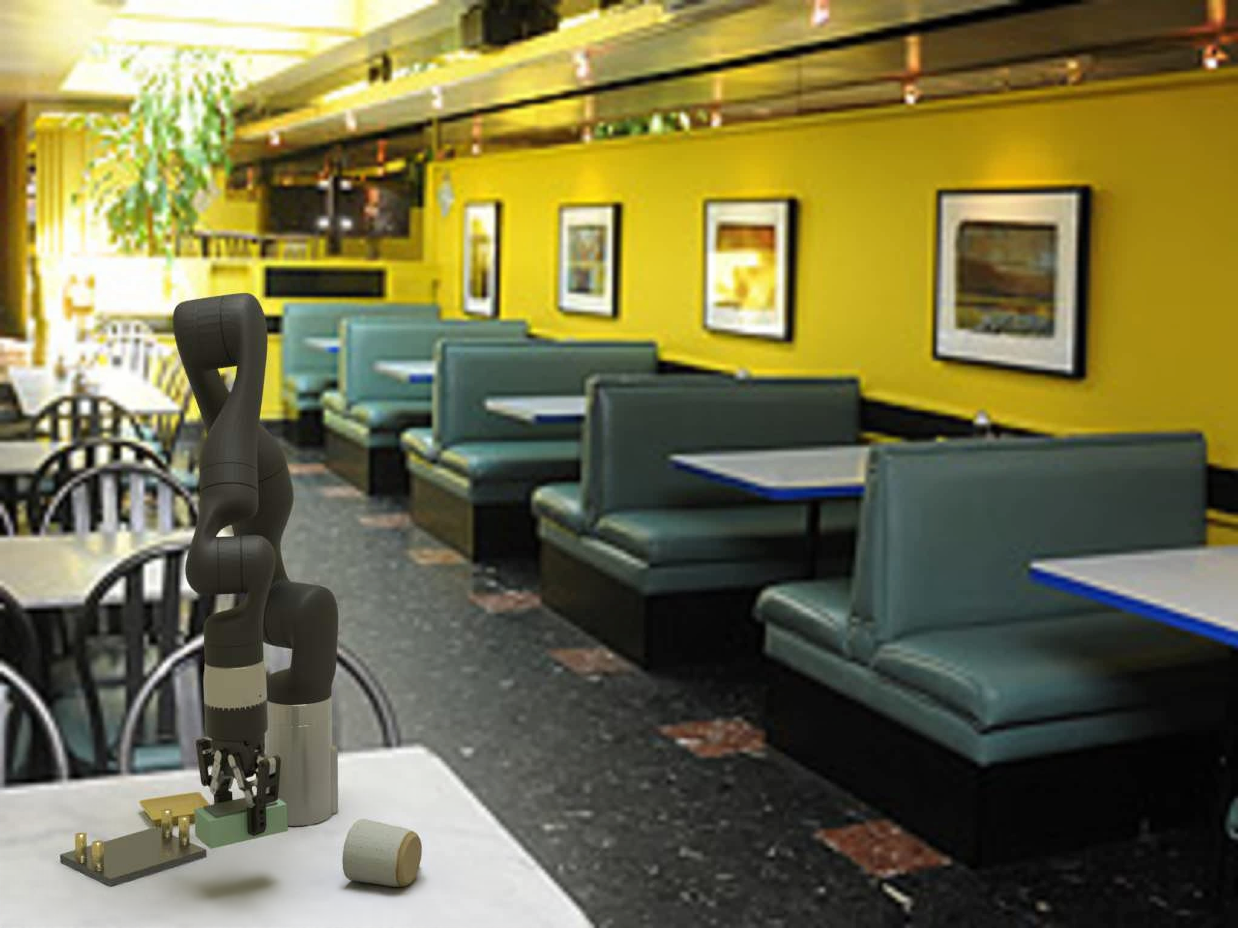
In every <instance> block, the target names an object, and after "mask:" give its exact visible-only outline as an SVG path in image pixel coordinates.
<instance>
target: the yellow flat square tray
mask: <svg viewBox="0 0 1238 928" xmlns="http://www.w3.org/2000/svg"><path fill="white" fill-rule="evenodd" d="M138 802H139V805H140V806H141V807H142V808H143V810H144V811H145V813H146V814H147V816H148V817H149V818H150V819H151V821H152V823H153V824H154V826H155V827H156V828H162V821H161V810H163V809H172V826H179V823H178V818H179V817H180V816H189V823H190V824H191V823H195V815H194V809H197V808H202V807H203V806H208V805H211V804H210V803H209V801H208V800H207V799H206V797H205V796H203V794H202V792H200V791H195V792H194V791H193V792H186V793H180V794H173V795H166V796H165V795H164V796H158V797H153V798H145V799H141V800H139V801H138Z"/></svg>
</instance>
